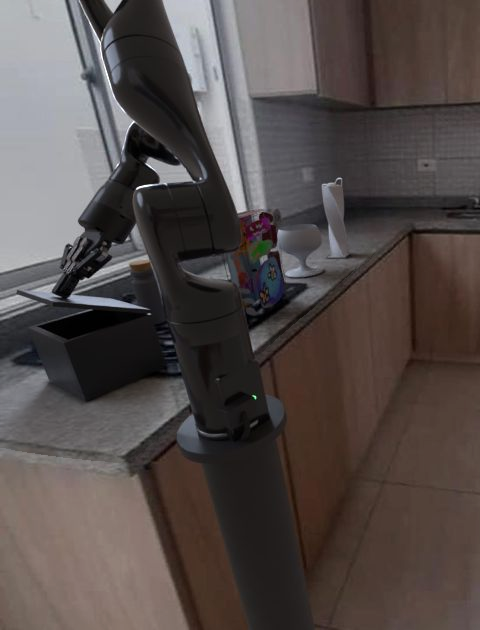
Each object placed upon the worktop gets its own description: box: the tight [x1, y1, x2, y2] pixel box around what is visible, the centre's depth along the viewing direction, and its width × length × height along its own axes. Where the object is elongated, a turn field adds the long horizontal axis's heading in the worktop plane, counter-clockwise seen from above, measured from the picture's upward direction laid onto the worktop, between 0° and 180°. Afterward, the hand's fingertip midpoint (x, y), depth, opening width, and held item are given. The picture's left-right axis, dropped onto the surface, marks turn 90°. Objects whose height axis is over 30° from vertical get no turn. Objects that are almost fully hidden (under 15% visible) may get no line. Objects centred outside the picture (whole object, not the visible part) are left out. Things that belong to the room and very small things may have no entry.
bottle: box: [128, 259, 167, 326], centre depth 107 cm, size 6×6×15 cm
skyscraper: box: [321, 177, 351, 260], centre depth 159 cm, size 8×8×28 cm
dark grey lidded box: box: [27, 309, 167, 402], centre depth 82 cm, size 14×15×11 cm
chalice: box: [277, 223, 324, 278], centre depth 142 cm, size 14×14×15 cm
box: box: [221, 208, 288, 323], centre depth 112 cm, size 25×6×24 cm, turn 170°
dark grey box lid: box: [15, 289, 151, 314], centre depth 79 cm, size 15×15×1 cm
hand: (59, 295), depth 75 cm, fingers closed
